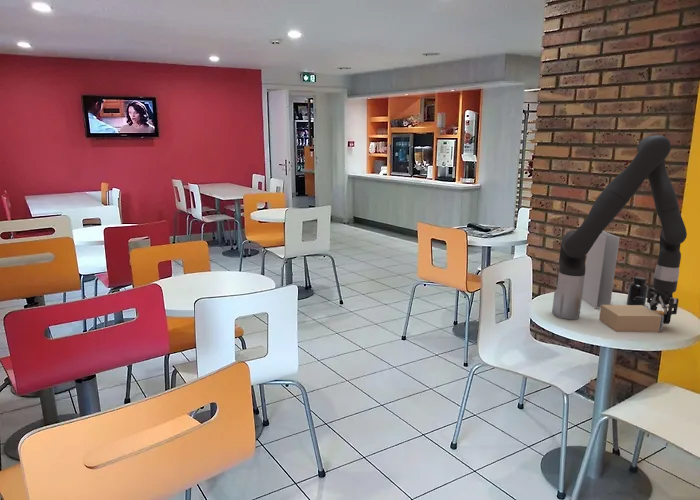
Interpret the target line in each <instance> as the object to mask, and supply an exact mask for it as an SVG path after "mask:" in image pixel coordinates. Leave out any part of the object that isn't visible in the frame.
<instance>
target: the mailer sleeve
mask: <svg viewBox="0 0 700 500" xmlns="http://www.w3.org/2000/svg"><path fill="white" fill-rule="evenodd" d="M646 307H647V306H646ZM646 307H644V306H643V305H628V304H610V305H601V306H600V311H599V318H598V319H599V321H600V322H602V323H604V324H605V325H606V326H607V327H610V329H612V330H613V331H615V332H631V333H632V332H639V333H640V332H642V333H646V332H647V333H649V332H650V333H656V332H657V333H658V332H659V333H660V330H659V329H660V323H661V317H662V316H660V315H659V314H657V313H655V312H653V311H651V310H650V308H649V307H647V308H646ZM648 308H649V309H648Z"/></svg>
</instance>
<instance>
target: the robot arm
mask: <svg viewBox="0 0 700 500" xmlns="http://www.w3.org/2000/svg"><path fill="white" fill-rule="evenodd" d="M671 149H672V144H671V142H670V139H668V138H667V137H665V136H663V135H660V134H659V135H658V134H655V135H649V136H645V137H644V138H642V139H641V140H639V143H638V144H637V149H636V152H637V154H635V156H634V157H633V159H632V161H630V163H629V164H628V165H627V167H626V168H624V170H623V171H621V172H620V173H619V174H618V175H617V176H615V178H613V179H612V180H611V181H610V182H609V183H608V184H607V185H606V186H605V187H604V189H603V190H602V191H601V193H600V194H599V195H598V196H597V198H596V199H595V201H594V203H593V204H592V206H591V209H590V211H589V213H588V214H587V216H586V218H585V219H584V221H583V222H582V224H580V226H579V227H578V228H577V229H576V230H571V231H568V232H567V233H565V234H564V235H563V237H562V239H561V243H560V251H559V262H558V263H559V264H558V265H559V269H558V275H557V276H558V277H557V286H556V289H554V292H553V301H552V309H551V313H552V314H553V315H555V317H557V318H559V319H565V320H577V319H580V314H581V309H582V308H581V307H582V300H583V299H582V293H583V285H584V278H585V270H586V268H585V266H586V257H587V253H588V252H589V250H590V249H591V247H592V246H593V244H594V243H595V241H596V240H597V238H598V237H599V235H600V234H601V233H602V231H604V230H605V229H606V228H607V227H608V226H609V225H610V224H611V222H612V221H613V220H614V219H615V218H616V216H618V215H619V214H620V212H621V211H622V210H623V209H624V208H625V207H626V205H627V204H628V203H629V202H630V200H631V198H633V197H634V195H635V194H636V192H637V191H638V190H639V189H640V187H641V185H642V184H643V183H644V182H645V180H646V179H647V178H648V182H649V186H650V190H651V194H652V199H653V202H654V207H655V211H656V214H657V217H658V219H659V221H660V223H661V227H662V228H661V229H660V233H659V253H658V256H657V262H656V263H657V264H656V268H655V270H654V276H653V282H652V287H648V291H647V297H646V302H647V304H648V305H649V306H650V307H649V309H651V310H653V311H658V305H659V304H660V305H661V309H663V312H664V313H665V314H664V320H663V325H669V324H670V323H671V318H672V315H677V312H678V307H679V306H678V305H679V300H680V299H679V298H678V297H673V294H674V293H675V292H676V291H677V287H678V284H679V283H678V281H679V276H680V266H681V260H682V253H681V244H683V243H684V242H685V241H686V239H687V235H688V233H687V229H686V228H687V227H686V226H685V225H686V224H685V222H684V220H683V217H682V215H681V211H680V205H679V201H678V197H677V193H676V191H675V187H674V185H673V183H672V182H671V179H670V176H669V175H668V171H667V167H666V161H665V160H666V159H667V157H668V156H669V155H670V152H671Z"/></svg>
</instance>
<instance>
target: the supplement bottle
mask: <svg viewBox="0 0 700 500" xmlns="http://www.w3.org/2000/svg"><path fill="white" fill-rule="evenodd" d="M647 280H648V278H647V277H644V276H637V275H636V276H633V280H632V282H631V283H630V284H629V285H628V286H629V287H628V293H627V299H626V305H643V306H646V302H647V297H648V292H649V286H648V285H647Z"/></svg>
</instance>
